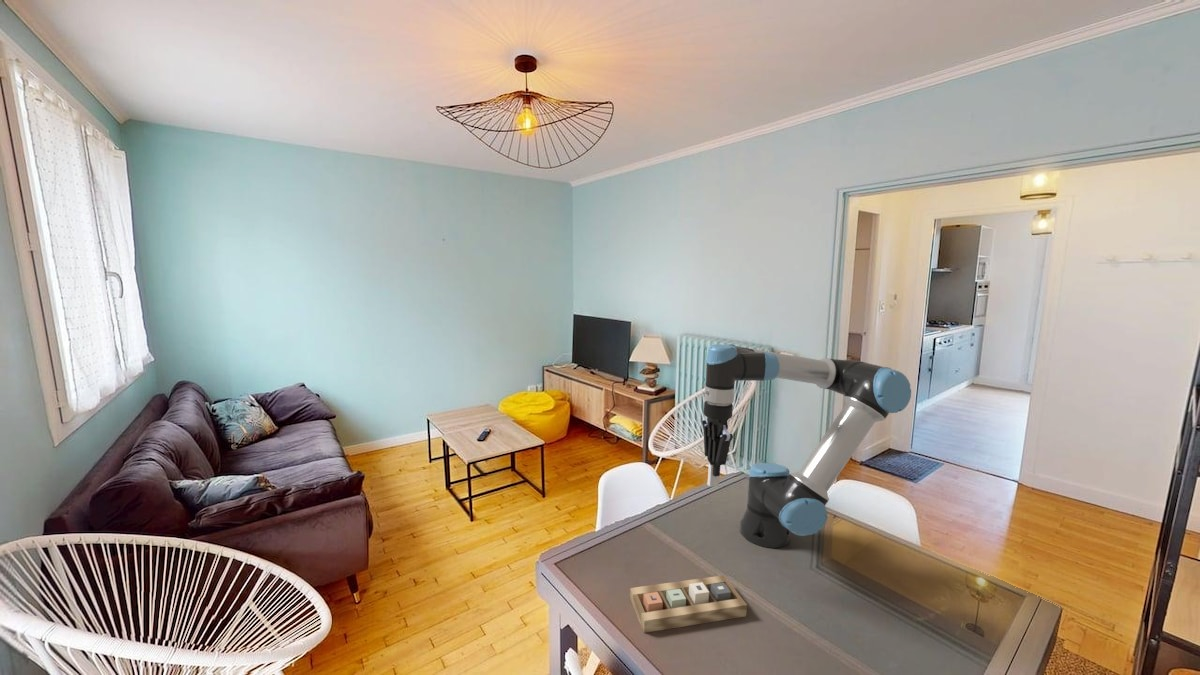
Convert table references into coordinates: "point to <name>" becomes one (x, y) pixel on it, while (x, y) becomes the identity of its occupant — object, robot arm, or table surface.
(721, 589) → the charcoal key
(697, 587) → the cream key
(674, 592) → the sage key
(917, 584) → the table surface
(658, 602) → the terracotta key
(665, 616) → the keypad frame
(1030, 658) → the table surface
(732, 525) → the table surface
